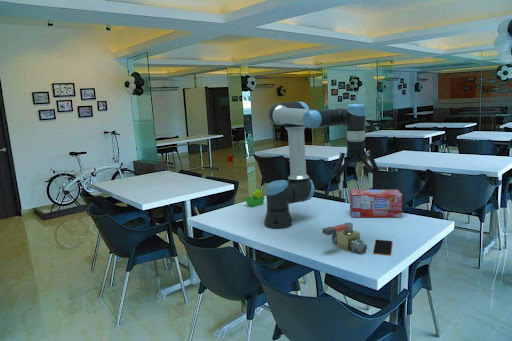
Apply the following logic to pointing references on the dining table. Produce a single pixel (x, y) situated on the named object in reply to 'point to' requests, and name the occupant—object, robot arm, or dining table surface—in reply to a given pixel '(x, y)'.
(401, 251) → the dining table surface
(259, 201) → the fruit basket
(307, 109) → the robot arm
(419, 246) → the dining table surface
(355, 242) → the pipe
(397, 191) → the box
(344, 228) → the lever
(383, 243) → the smartphone
